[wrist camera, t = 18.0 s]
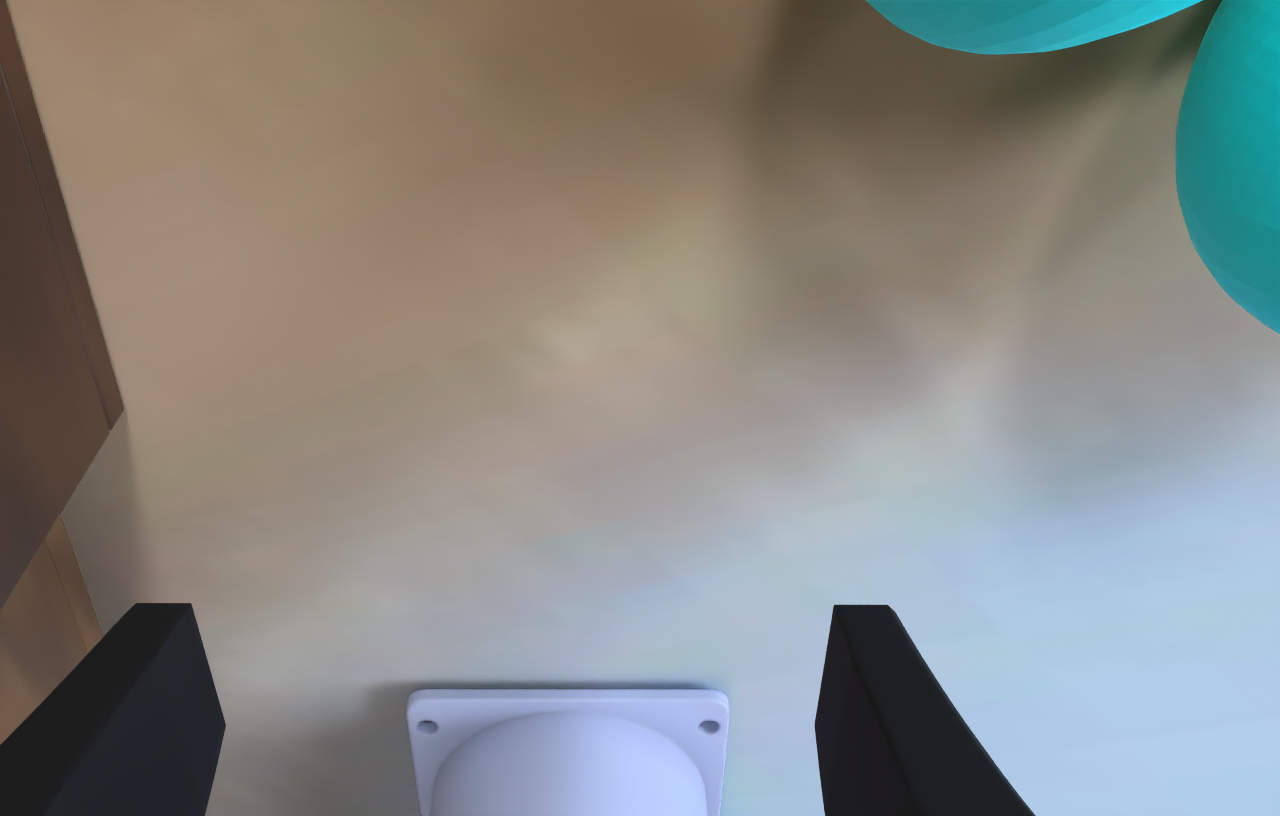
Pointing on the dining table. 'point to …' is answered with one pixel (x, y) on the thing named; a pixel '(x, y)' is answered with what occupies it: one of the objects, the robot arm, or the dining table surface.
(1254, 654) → the dining table surface
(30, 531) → the cabinet
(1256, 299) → the turquoise spool
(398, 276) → the dining table surface
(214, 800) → the dining table surface
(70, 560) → the drawer
